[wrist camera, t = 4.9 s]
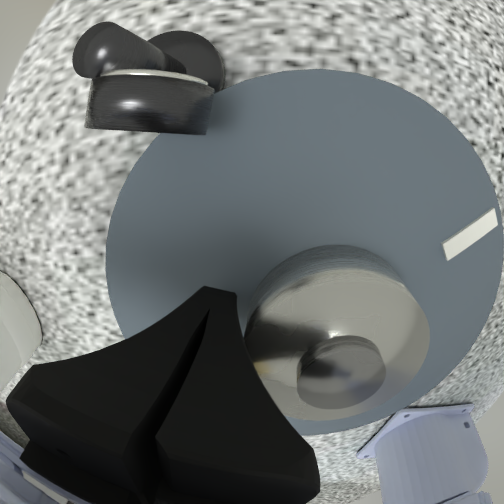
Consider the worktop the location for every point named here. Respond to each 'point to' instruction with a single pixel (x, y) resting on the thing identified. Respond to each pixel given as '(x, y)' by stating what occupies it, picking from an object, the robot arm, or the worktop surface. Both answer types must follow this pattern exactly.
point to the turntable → (312, 209)
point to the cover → (334, 333)
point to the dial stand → (148, 80)
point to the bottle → (16, 330)
